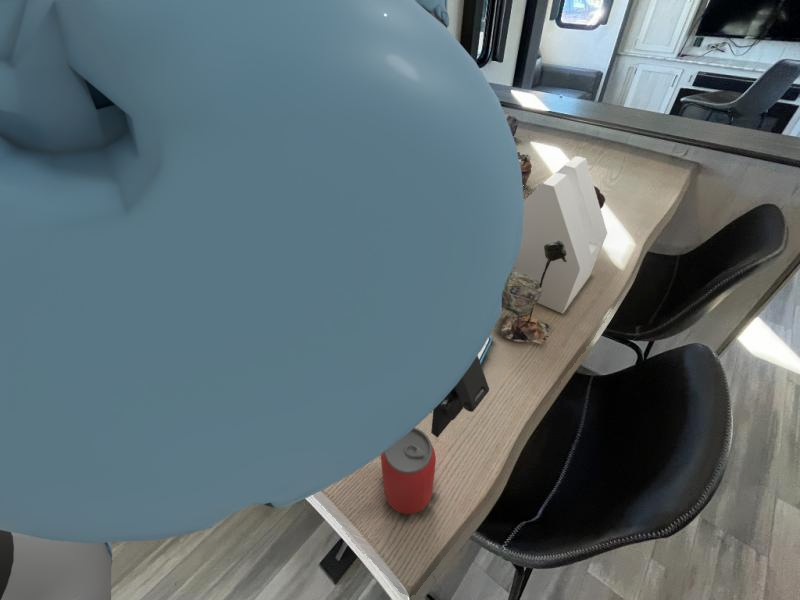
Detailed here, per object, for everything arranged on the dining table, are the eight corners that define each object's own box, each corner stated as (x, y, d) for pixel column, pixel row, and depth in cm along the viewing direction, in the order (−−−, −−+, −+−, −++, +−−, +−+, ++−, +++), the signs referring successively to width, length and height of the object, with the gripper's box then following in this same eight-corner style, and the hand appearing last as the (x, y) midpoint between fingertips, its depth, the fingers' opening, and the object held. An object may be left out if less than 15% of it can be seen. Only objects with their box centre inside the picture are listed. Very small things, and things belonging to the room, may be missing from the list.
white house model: (480, 277, 85) (497, 170, 68) (511, 247, 94) (534, 146, 77) (562, 313, 76) (606, 201, 59) (589, 276, 84) (633, 169, 68)
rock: (518, 132, 154) (502, 151, 155) (503, 118, 153) (487, 138, 154) (527, 122, 142) (509, 143, 144) (510, 107, 142) (493, 128, 143)
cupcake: (531, 181, 121) (538, 150, 114) (522, 193, 115) (529, 161, 108) (503, 175, 125) (508, 145, 118) (492, 187, 118) (497, 155, 112)
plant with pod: (500, 306, 78) (519, 221, 64) (554, 328, 73) (586, 242, 59) (482, 329, 73) (499, 243, 59) (539, 355, 68) (571, 267, 54)
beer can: (423, 524, 48) (426, 486, 40) (376, 504, 50) (370, 465, 42) (438, 475, 52) (443, 432, 44) (394, 458, 54) (392, 415, 46)
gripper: (577, 255, 22) (511, 432, 37) (309, 157, 34) (338, 318, 49) (519, 325, 18) (470, 494, 32) (237, 185, 30) (292, 353, 45)
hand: (391, 389), depth 41 cm, fingers open, 13 cm apart
